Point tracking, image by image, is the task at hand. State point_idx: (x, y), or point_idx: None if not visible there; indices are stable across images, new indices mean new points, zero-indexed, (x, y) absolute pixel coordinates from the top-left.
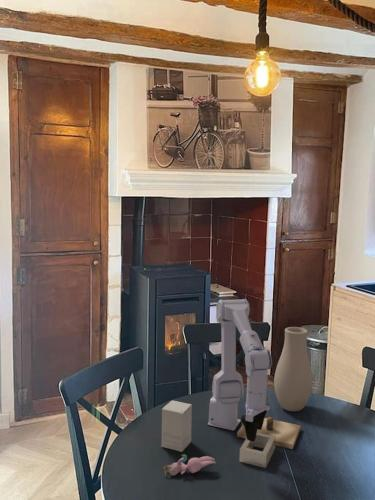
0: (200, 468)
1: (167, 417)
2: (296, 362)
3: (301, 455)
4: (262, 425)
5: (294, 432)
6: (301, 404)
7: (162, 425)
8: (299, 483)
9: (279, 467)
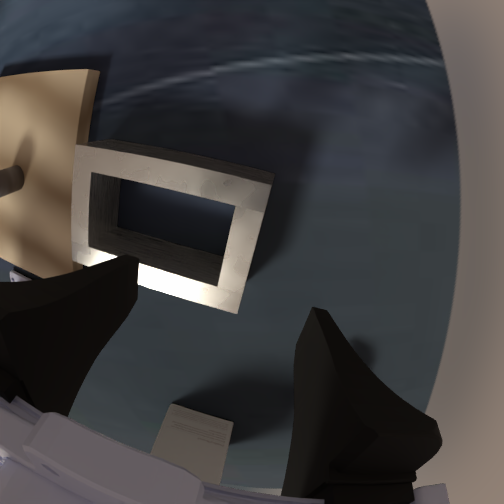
0: None
1: None
2: None
3: (138, 29)
4: (115, 261)
5: (18, 85)
6: None
7: None
8: (367, 39)
9: (256, 110)
